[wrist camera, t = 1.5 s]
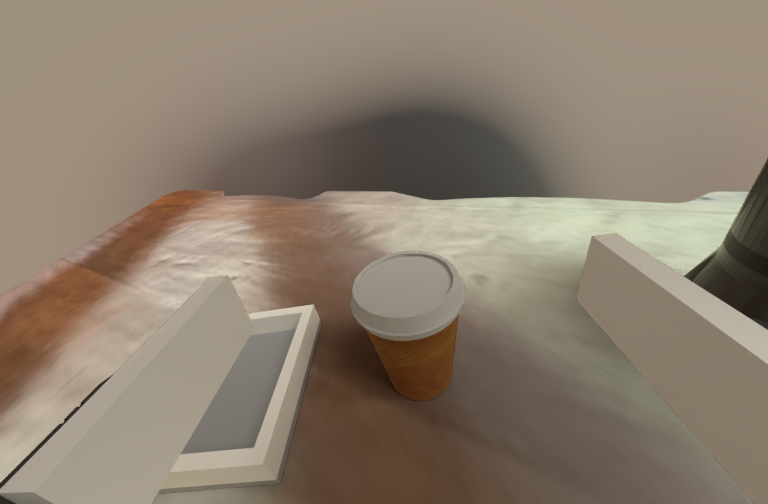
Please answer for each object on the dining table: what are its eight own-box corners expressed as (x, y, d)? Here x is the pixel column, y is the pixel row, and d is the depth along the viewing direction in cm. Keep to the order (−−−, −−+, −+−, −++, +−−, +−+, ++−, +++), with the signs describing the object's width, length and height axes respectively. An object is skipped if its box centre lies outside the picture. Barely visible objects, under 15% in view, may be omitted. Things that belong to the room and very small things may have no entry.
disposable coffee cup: (379, 429, 25) (346, 336, 18) (372, 344, 33) (347, 260, 27) (485, 406, 25) (486, 306, 18) (450, 327, 33) (444, 239, 27)
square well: (321, 323, 37) (313, 304, 35) (280, 484, 22) (262, 464, 21) (201, 339, 39) (188, 321, 37) (88, 499, 24) (56, 481, 22)
